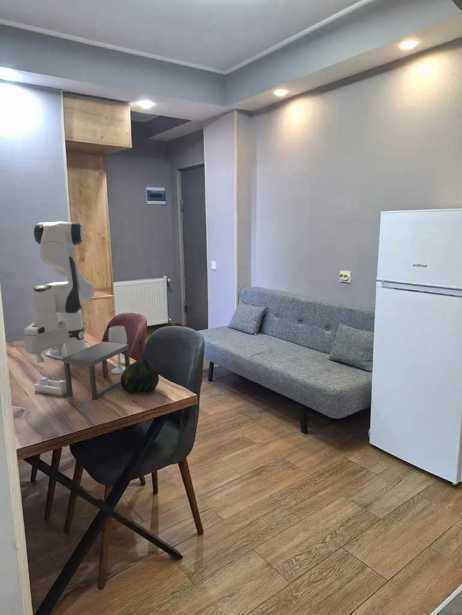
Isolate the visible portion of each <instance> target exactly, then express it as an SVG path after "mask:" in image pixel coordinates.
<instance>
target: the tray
mask: <svg viewBox="0 0 462 615" xmlns="http://www.w3.org/2000/svg"><path fill="white" fill-rule="evenodd" d="M33 385H34V391H35V392H38V393H43V394H49V395H55V396H60V397H63V396H65V395H67V389H66V380H65V379H60V380H58V381H57V380H53V379H52V380H50V379H48V377H45V376H44V377H40V378H39V382H37V383H35V384H33Z"/></svg>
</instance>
